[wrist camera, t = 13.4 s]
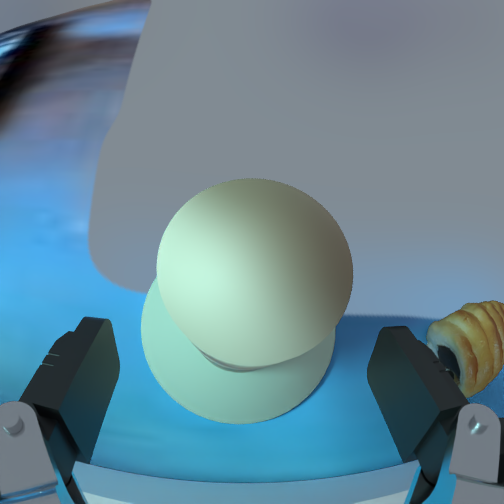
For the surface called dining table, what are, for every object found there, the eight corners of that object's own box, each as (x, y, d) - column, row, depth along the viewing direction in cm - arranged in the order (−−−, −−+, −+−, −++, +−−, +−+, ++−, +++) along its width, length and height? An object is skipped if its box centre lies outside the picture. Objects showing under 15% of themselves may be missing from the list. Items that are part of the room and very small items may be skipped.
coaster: (236, 461, 16) (236, 462, 16) (106, 317, 19) (104, 316, 18) (368, 326, 20) (370, 325, 20) (242, 205, 23) (242, 202, 22)
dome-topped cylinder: (238, 391, 17) (256, 408, 7) (174, 324, 19) (118, 255, 8) (303, 328, 19) (386, 266, 9) (240, 266, 20) (257, 151, 10)
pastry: (488, 288, 22) (517, 273, 18) (510, 356, 20) (540, 349, 16) (415, 330, 20) (446, 319, 17) (440, 411, 18) (473, 413, 14)
